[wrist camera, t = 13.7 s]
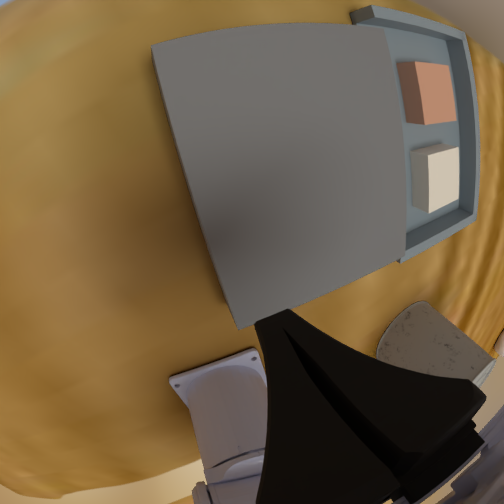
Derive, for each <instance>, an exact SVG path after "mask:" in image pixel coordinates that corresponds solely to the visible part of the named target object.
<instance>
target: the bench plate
mask: <svg viewBox="0 0 504 504" xmlns="http://www.w3.org/2000/svg"><path fill="white" fill-rule="evenodd" d="M151 53H152V61H153V65H154V69H155V73H156V77H157V81H158V85H159V89H160V93H161V96H162V100H163V104H164V107H165V111H166V115H167V118H168V122H169V125H170V129H171V133H172V136H173V139H174V143H175V146H176V150H177V153H178V157H179V160H180V163H181V167H182V170H183V173H184V177H185V180H186V183H187V186H188V190H189V193H190V196H191V199H192V202H193V205H194V209H195V212H196V215H197V218H198V221H199V224H200V227H201V230H202V233H203V236H204V239H205V242H206V245H207V248H208V251H209V254H210V257H211V260H212V263H213V266H214V269H215V272H216V274H217V277H218V280H219V283H220V286H221V289H222V292H223V294H224V297H225V300H226V303H227V305H228V308H229V310H230V312H231V315H232V317H233V319H234V322H235V324H236V326H237V328H238V330H240V329H243V328H245V327H248V326H251V325H253V324H255V322H256V321H258V320H261V319H263V318H266V317H268V316H271V315H273V314H276V313H278V312H280V311H283V310H285V309H292V308H295V307H297V306H300V305H302V304H304V303H306V302H309V301H311V300H313V299H316V298H318V297H320V296H322V295H325V294H327V293H329V292H331V291H334V290H336V289H338V288H340V287H342V286H344V285H347V284H349V283H351V282H353V281H355V280H357V279H359V278H361V277H363V276H366V275H368V274H370V273H372V272H374V271H376V270H378V269H380V268H382V267H384V266H386V265H388V264H390V263H392V262H394V261H396V260H398V259H400V258H402V257H404V256H405V247H406V215H407V199H406V168H405V152H404V140H403V130H402V121H401V113H400V106H399V99H398V93H397V87H396V81H395V76H394V71H393V66H392V61H391V57H390V52H389V48H388V44H387V40H386V36H385V32H384V29H383V28H375V27H367V26H358V25H347V24H331V23H282V24H265V25H254V26H244V27H236V28H229V29H222V30H216V31H210V32H205V33H200V34H195V35H190V36H185V37H181V38H177V39H173V40H169V41H165V42H161V43H158V44H154V45H151Z"/></svg>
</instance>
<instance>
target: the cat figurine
mask: <svg viewBox="0 0 504 504" xmlns="http://www.w3.org/2000/svg"><path fill="white" fill-rule="evenodd" d="M494 349H495V351H496V352H497V353H498V354H499V355H501V356H503V357H504V330H503V331H502V333H501V334H500V336H499V338H498V340H497V342H496V344H495V346H494Z"/></svg>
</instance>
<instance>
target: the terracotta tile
mask: <svg viewBox="0 0 504 504" xmlns="http://www.w3.org/2000/svg"><path fill="white" fill-rule="evenodd" d="M396 65H397V70H398V75H399V80H400V85H401V90H402V96H403V102H404V109H405V116H406V123H413V124H421V125H428V124H435V123H442V122H450V121H456V111H455V102H454V95H453V88H452V82H451V76H450V71H449V66H448V65H441V64H434V63H425V62H403V63H396Z"/></svg>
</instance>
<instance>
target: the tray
mask: <svg viewBox="0 0 504 504" xmlns="http://www.w3.org/2000/svg"><path fill="white" fill-rule="evenodd" d="M350 16H351V19H352V23H353V25H358V26H367V27H375V28H383V29H384V32H385V36H386V40H387V44H388V48H389V52H390V57H391V61H392V66H393V71H394V76H395V81H396V87H397V93H398V99H399V106H400V113H401V121H402V130H403V140H404V152H405V168H406V199H407V215H406V247H405V256H404V257H402V258H400V259H398V260H396V261H397V262H399V263H402V262H404V261H406V260H408V259H410V258H412V257H414V256H415V255H417V254H419V253H421V252H423V251H425V250H426V249H428V248H430V247H432V246H434V245H435V244H437V243H439V242H441V241H442V240H444V239H446V238H448V237H449V236H451V235H453V234H454V233H456V232H458V231H459V230H461V229H463V228H464V227H466V226H468V225H469V224H471V223H473V222H474V221H476V217H477V208H478V197H479V181H480V130H479V115H478V104H477V95H476V87H475V80H474V74H473V68H472V63H471V58H470V53H469V48H468V44H467V40H466V36H465V32H463V31H460V30H458V29H455V28H452V27H450V26H447V25H444V24H441V23H439V22H436V21H433V20H430V19H426V18H423V17H420V16H416V15H413V14H409V13H405V12H401V11H397V10H393V9H389V8H384V7H379V6H374V5H370V6H367V7H364V8H361V9H359V10H356V11H354V12H351V13H350ZM403 62H425V63H434V64H441V65H448V66H449V71H450V76H451V82H452V88H453V95H454V102H455V111H456V121H450V122H442V123H435V124H428V125H421V124H413V123H406V116H405V109H404V102H403V96H402V90H401V85H400V80H399V75H398V70H397V65H396V63H403ZM441 143H443V144H448V145H452V146H456V147H459V199H457V200H455V201H453V202H451V203H449V204H447V205H445V206H443V207H441V208H439V209H437V210H435V211H433V212H431V213H426V212H424V211H422V210H420V209H417V208H415V207H413V204H412V173H411V158H410V151H413V150H416V149H420V148H424V147H429V146H433V145H437V144H441Z"/></svg>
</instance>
